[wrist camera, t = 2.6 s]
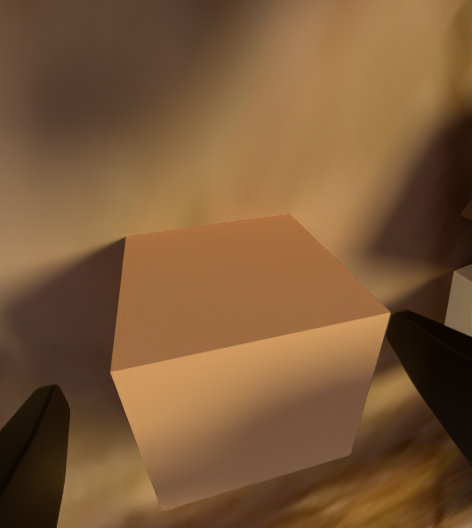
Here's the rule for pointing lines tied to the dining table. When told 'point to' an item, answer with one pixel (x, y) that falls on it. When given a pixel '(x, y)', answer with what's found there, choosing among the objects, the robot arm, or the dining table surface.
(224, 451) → the terracotta cube
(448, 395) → the robot arm
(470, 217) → the walnut cube
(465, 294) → the cream cube
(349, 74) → the dining table surface
